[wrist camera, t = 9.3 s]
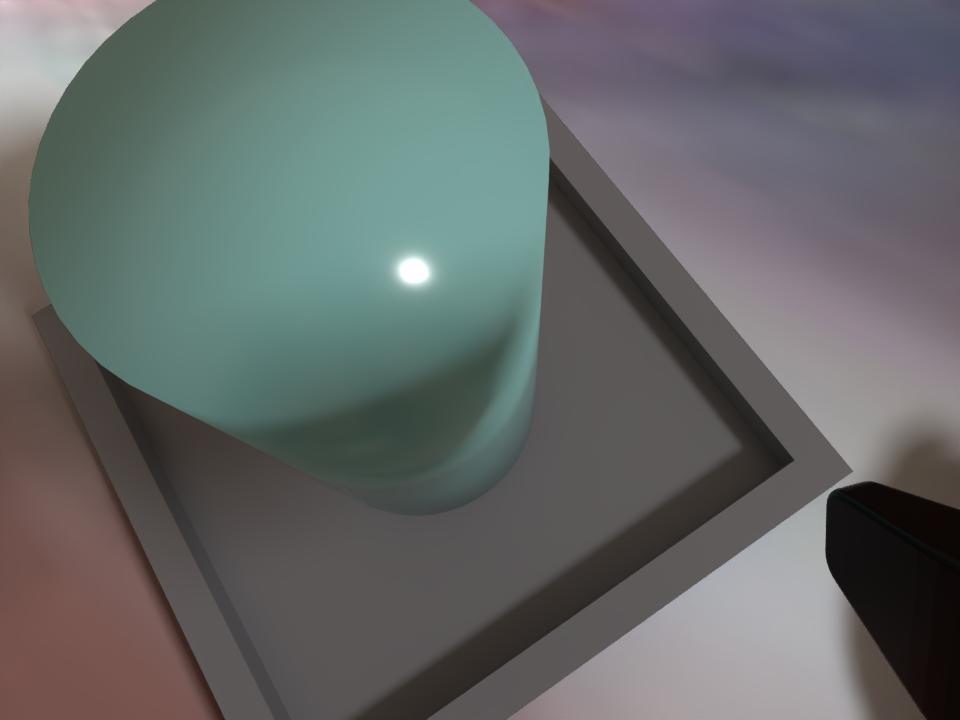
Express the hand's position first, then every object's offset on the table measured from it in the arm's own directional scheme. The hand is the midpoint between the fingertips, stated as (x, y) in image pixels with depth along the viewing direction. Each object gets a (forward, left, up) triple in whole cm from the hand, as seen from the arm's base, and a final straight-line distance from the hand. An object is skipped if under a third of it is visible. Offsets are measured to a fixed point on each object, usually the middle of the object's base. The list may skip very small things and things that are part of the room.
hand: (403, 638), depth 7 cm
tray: (+6, -2, -13) cm, 14 cm away
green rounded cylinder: (+5, -2, -12) cm, 13 cm away
